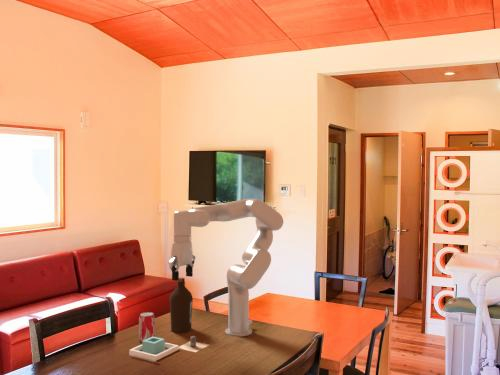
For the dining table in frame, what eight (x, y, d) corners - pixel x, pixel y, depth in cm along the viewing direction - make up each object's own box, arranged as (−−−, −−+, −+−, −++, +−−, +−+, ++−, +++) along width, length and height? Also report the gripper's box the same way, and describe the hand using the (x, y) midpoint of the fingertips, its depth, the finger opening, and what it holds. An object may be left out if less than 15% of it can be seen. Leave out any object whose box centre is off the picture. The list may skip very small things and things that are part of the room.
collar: (164, 351, 198) (164, 338, 198) (154, 356, 192) (154, 343, 192) (149, 347, 202) (149, 335, 202) (139, 352, 196) (139, 340, 196)
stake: (190, 342, 209) (190, 331, 209) (209, 346, 204) (209, 335, 204) (176, 349, 201) (176, 338, 201) (195, 354, 196) (195, 342, 196)
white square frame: (152, 345, 206) (152, 339, 206) (178, 351, 199) (178, 345, 199) (129, 355, 194) (129, 349, 194) (156, 362, 187) (156, 356, 187)
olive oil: (170, 335, 218) (170, 281, 218) (169, 328, 229) (169, 276, 228) (193, 334, 221) (193, 280, 220) (191, 327, 231) (191, 275, 231)
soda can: (151, 344, 207) (151, 316, 207) (136, 343, 209) (135, 315, 209) (157, 338, 214) (157, 312, 214) (142, 337, 216) (142, 311, 215)
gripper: (187, 236, 218) (187, 273, 218) (162, 240, 203) (162, 281, 203) (201, 237, 214) (201, 275, 214) (176, 241, 199) (176, 283, 199)
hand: (182, 278), depth 209 cm, fingers open, 9 cm apart
